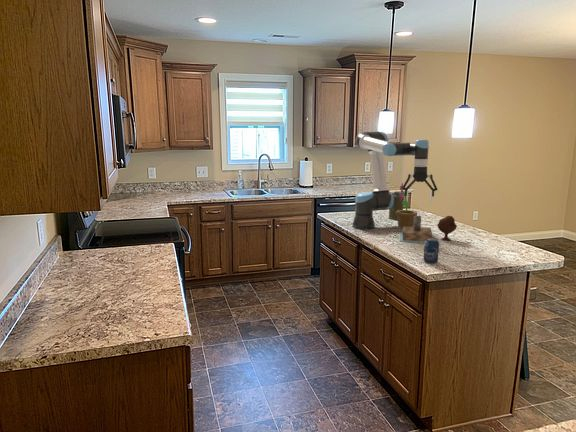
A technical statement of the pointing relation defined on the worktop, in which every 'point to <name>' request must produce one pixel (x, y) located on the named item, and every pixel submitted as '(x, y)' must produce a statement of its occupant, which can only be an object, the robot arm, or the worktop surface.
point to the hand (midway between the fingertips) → (418, 201)
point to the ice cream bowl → (447, 226)
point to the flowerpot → (405, 213)
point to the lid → (416, 231)
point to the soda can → (431, 250)
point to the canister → (395, 206)
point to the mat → (409, 240)
